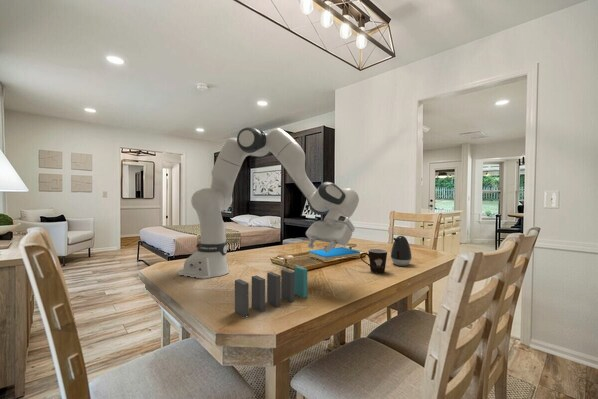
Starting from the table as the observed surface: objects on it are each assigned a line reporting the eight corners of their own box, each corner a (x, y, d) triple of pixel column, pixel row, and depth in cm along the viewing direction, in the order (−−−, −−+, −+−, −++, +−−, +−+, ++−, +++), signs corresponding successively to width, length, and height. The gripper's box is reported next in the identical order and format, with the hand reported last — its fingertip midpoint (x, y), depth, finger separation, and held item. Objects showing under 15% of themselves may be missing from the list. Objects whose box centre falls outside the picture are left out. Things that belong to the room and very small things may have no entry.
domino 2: (260, 312, 84) (260, 280, 84) (251, 307, 88) (251, 276, 88) (265, 310, 85) (265, 279, 85) (256, 305, 89) (256, 275, 89)
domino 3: (276, 307, 88) (276, 276, 88) (267, 302, 92) (267, 272, 92) (280, 305, 89) (280, 275, 89) (271, 300, 93) (271, 271, 93)
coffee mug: (389, 271, 130) (389, 250, 130) (383, 275, 123) (384, 253, 123) (365, 267, 137) (366, 247, 136) (359, 271, 130) (359, 250, 129)
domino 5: (303, 297, 96) (303, 269, 96) (294, 293, 100) (294, 266, 100) (307, 296, 97) (307, 268, 97) (297, 292, 101) (298, 265, 101)
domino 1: (243, 318, 80) (243, 284, 80) (234, 312, 84) (234, 280, 84) (248, 316, 81) (248, 283, 81) (240, 310, 85) (240, 279, 85)
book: (360, 251, 157) (325, 256, 145) (360, 259, 157) (325, 264, 145) (341, 246, 172) (308, 250, 159) (341, 253, 172) (307, 257, 159)
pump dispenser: (386, 263, 145) (386, 234, 144) (400, 261, 149) (401, 233, 149) (400, 268, 135) (401, 237, 135) (415, 265, 140) (416, 236, 139)
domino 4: (290, 302, 92) (290, 273, 92) (281, 297, 96) (281, 269, 96) (294, 301, 93) (294, 272, 93) (285, 296, 97) (285, 268, 97)
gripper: (313, 215, 116) (295, 240, 110) (351, 218, 101) (333, 248, 95) (320, 224, 119) (303, 250, 113) (358, 229, 104) (341, 259, 98)
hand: (317, 249), depth 104 cm, fingers open, 7 cm apart
